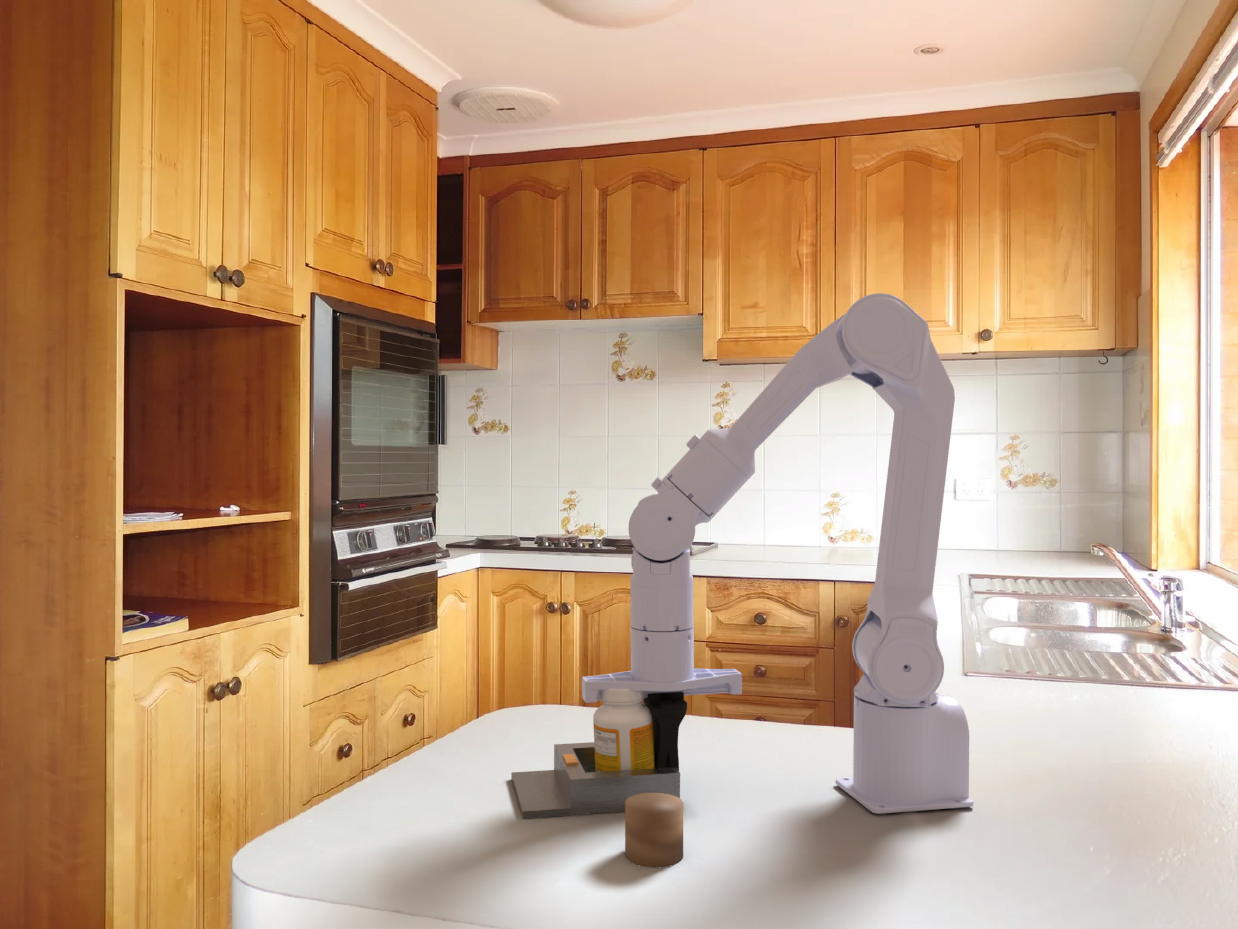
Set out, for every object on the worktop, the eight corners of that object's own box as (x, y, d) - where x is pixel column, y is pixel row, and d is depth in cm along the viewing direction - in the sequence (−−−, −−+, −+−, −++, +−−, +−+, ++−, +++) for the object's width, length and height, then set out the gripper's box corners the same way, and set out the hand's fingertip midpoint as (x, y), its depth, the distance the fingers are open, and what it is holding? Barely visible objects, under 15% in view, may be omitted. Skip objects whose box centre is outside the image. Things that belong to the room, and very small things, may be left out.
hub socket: (652, 770, 92) (652, 737, 92) (679, 807, 82) (680, 770, 82) (511, 779, 89) (511, 744, 89) (522, 818, 79) (522, 780, 79)
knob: (674, 842, 75) (675, 791, 75) (690, 865, 71) (690, 811, 71) (619, 846, 74) (620, 794, 74) (631, 870, 70) (632, 815, 70)
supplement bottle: (654, 779, 89) (650, 675, 89) (657, 800, 84) (653, 690, 84) (596, 782, 89) (592, 678, 89) (595, 803, 84) (591, 692, 83)
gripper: (725, 616, 92) (725, 757, 92) (576, 622, 89) (576, 767, 89) (749, 629, 85) (750, 781, 85) (589, 636, 82) (589, 793, 83)
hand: (662, 776), depth 87 cm, fingers closed, pressing on supplement bottle
